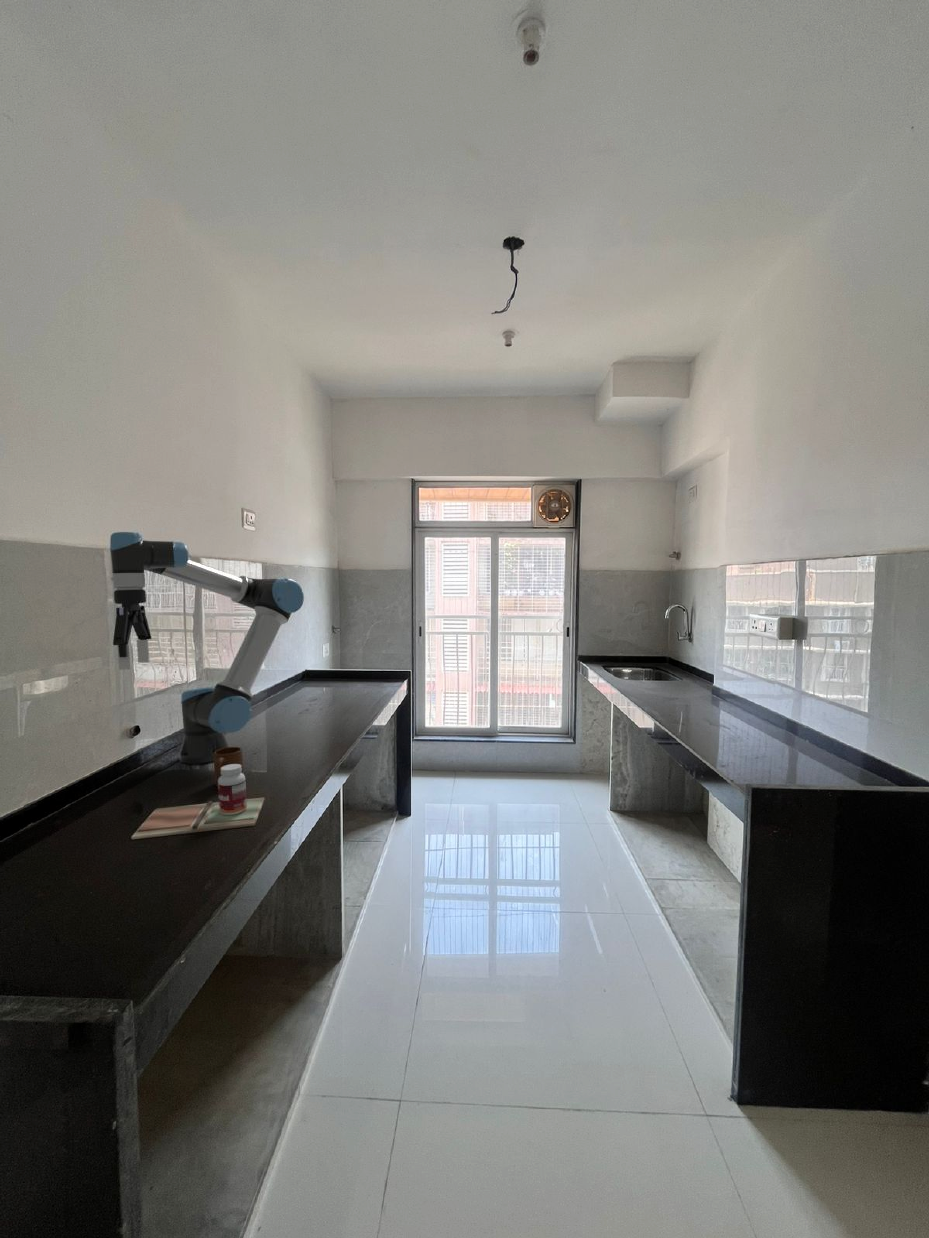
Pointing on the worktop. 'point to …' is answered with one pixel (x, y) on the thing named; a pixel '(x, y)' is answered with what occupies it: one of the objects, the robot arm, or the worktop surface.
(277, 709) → the worktop surface
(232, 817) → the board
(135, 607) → the robot arm
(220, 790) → the pill bottle
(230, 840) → the worktop surface
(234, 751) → the mug
